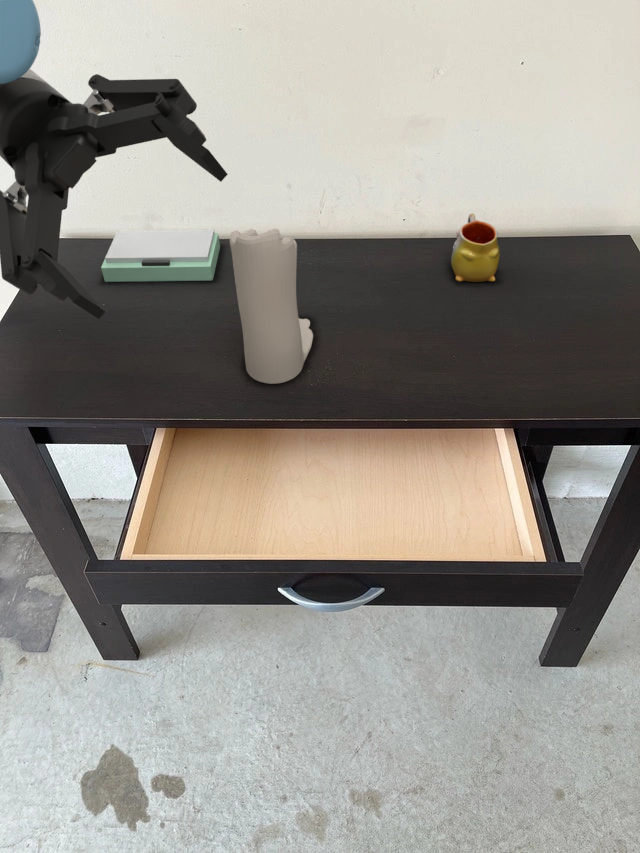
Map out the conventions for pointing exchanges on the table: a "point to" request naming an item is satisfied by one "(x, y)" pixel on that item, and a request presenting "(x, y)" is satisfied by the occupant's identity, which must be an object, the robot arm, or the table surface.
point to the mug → (475, 252)
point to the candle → (269, 305)
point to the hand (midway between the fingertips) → (152, 237)
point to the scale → (162, 256)
